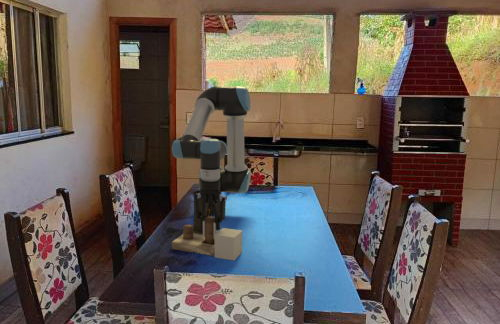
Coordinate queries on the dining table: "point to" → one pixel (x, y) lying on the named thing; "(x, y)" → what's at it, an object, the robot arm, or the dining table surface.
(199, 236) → the board
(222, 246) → the block
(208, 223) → the peg
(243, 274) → the dining table surface
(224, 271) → the dining table surface
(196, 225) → the container
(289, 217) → the dining table surface
